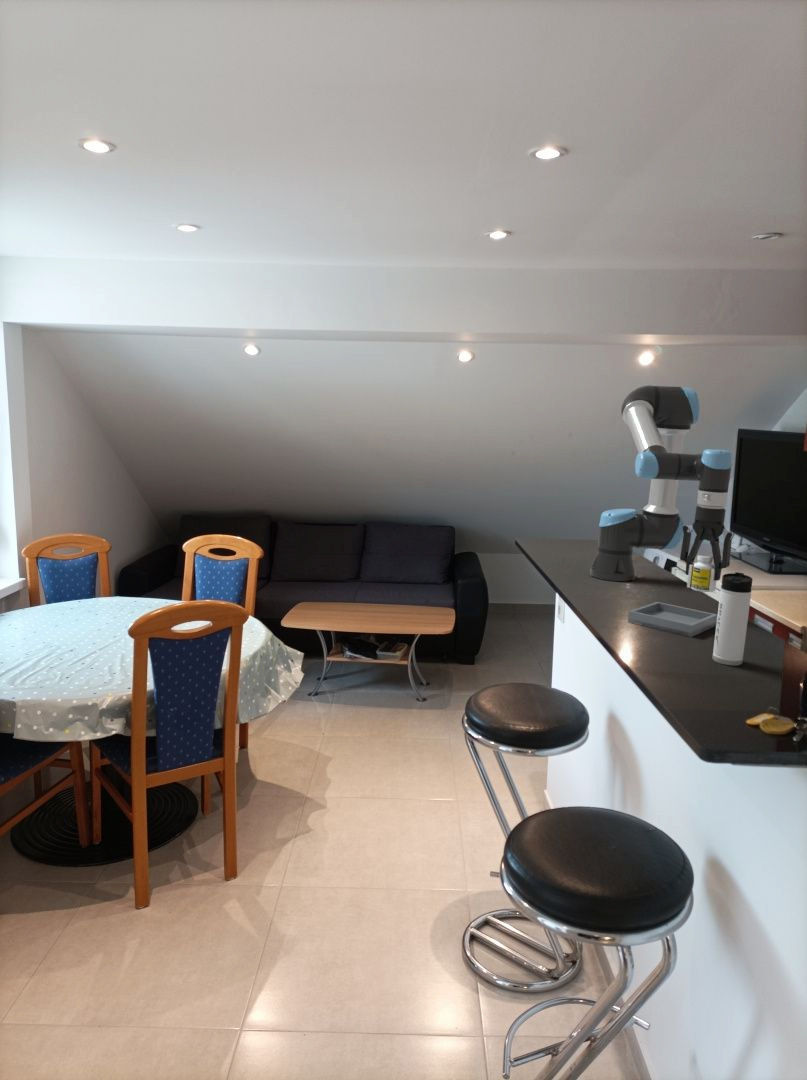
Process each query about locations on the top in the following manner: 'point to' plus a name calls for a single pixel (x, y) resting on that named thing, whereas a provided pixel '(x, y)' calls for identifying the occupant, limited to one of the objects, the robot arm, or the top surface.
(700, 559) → the supplement bottle
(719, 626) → the travel mug
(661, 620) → the tray
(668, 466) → the robot arm
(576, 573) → the top surface
